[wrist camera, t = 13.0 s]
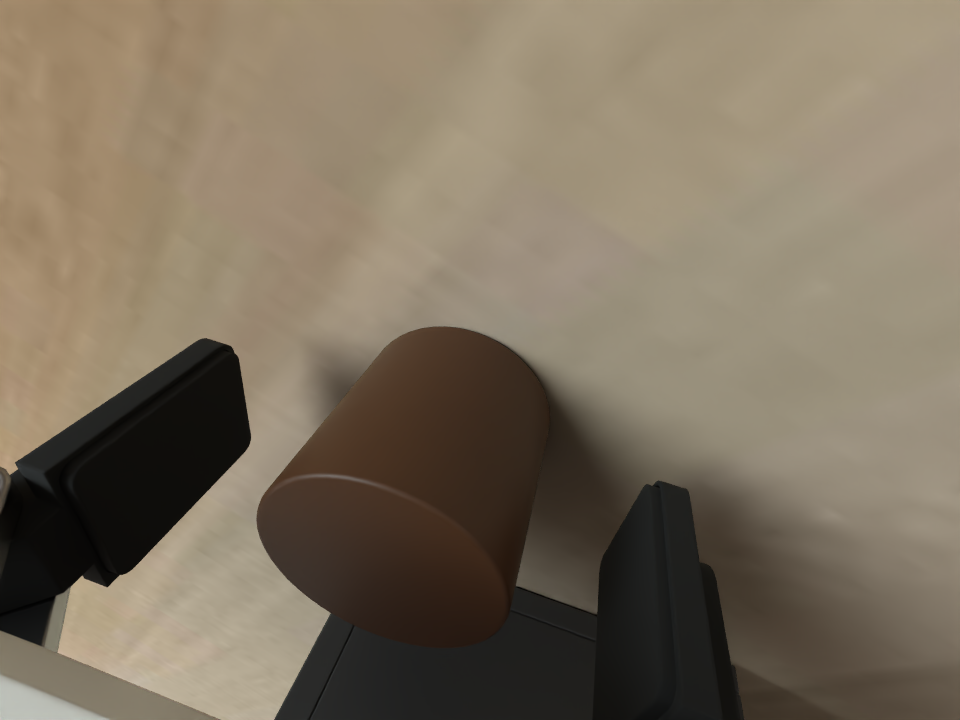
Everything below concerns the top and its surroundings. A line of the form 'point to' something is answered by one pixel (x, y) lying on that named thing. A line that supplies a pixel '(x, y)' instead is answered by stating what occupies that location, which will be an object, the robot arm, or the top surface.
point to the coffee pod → (416, 492)
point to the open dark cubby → (456, 672)
